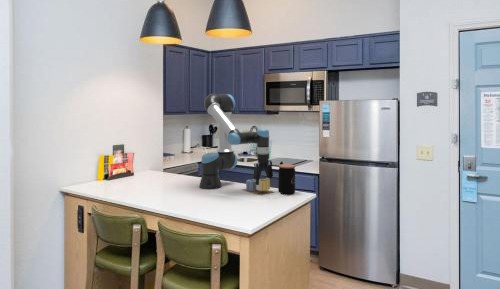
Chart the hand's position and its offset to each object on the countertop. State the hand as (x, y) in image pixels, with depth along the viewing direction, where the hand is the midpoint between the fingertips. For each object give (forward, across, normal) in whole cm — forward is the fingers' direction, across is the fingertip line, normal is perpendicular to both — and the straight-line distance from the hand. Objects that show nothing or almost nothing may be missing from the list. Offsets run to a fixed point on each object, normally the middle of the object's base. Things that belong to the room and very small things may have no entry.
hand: (263, 188), depth 233 cm
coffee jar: (+4, +13, -8) cm, 16 cm away
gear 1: (+2, 0, +10) cm, 10 cm away
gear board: (+3, 0, +5) cm, 6 cm away
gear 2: (0, 0, 0) cm, 0 cm away
